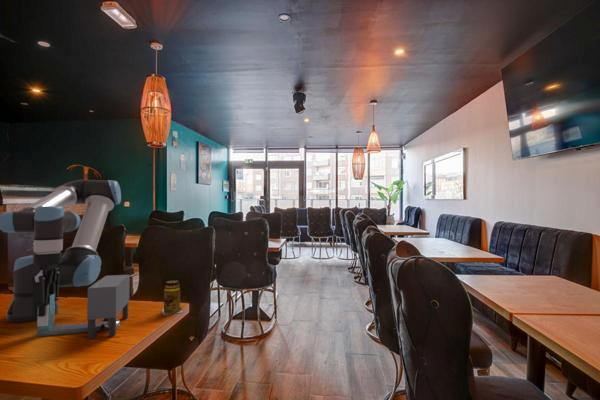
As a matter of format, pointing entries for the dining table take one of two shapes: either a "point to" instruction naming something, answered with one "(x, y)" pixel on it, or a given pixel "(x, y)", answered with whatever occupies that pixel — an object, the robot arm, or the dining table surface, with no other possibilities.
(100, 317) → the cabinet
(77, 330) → the l-shaped tool
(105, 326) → the token
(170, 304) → the condiment
